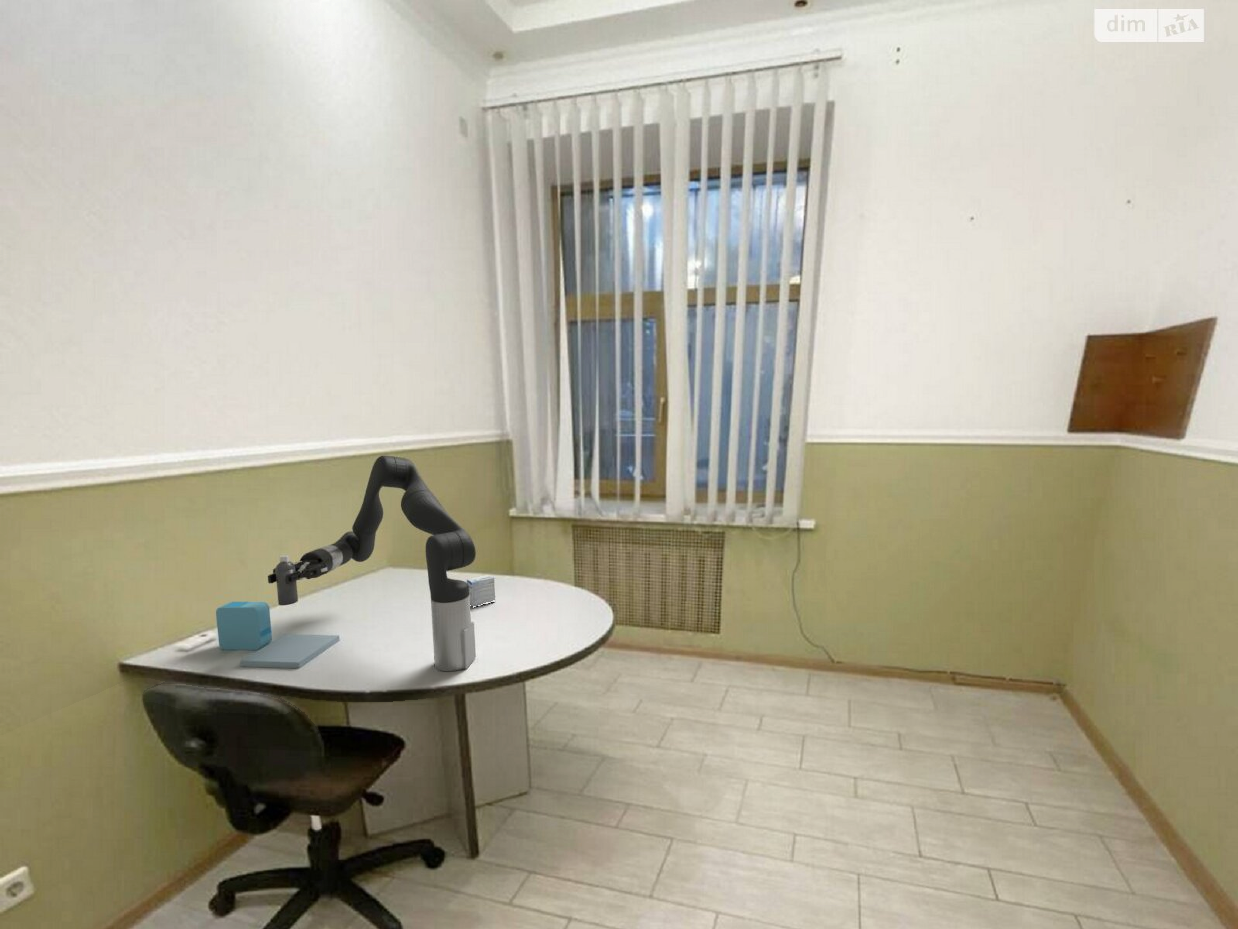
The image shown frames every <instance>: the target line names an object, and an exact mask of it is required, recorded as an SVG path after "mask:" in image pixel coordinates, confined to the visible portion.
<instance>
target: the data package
mask: <svg viewBox="0 0 1238 929" xmlns="http://www.w3.org/2000/svg"><path fill="white" fill-rule="evenodd" d="M270 610H271V609H270V606H269V604H268V603H267V602H265V601H231V602H227V603H226V604H224V605H222V606H219V607H217V608H216V611H215V616H216V619H215V620H216V626H217V636H218V645H219V647H220V648H221V649H222V650H225V651H226V650H227V651H228V650H229V651H234V650H235V651H258V650H259V649H261V648H263V647H265V646H266V645H268V644H270V643H272V640H273V634H272V624H271V622H272V621H271V612H270Z"/></svg>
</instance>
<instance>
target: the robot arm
mask: <svg viewBox="0 0 1238 929" xmlns="http://www.w3.org/2000/svg"><path fill="white" fill-rule="evenodd" d="M383 487H384V488H396V489H402V490H403V491H405V492H404V493H403V495H402V498H401V501H400V508H401V511H402V513H403V514H404V516H405V517H406V519H407V521H408V522H409V523H410V524H411V525H412V526H413V527H414V528H416V529H418V530H420V531H422V532H425V533H427V534H430V536H429V537H428V538H427V539H426V543H425V548H424V549H425V559H426V567H427V579H428V587H429V592H430V604H431V605H430V606H431V607H430V609H431V625H432V641H433V643H432V644H433V645H432V646H433V659H434V667H435V669H436V670H439V671H442V672H453V671H459V670H462V669H466V670H468V667H470V665H471V664H472V663H473V662H474V661H475V659H476V658H475V657H477V656H476V655H477V654H476V634H475V623H474V621H472V618H471V617H472V615H471V606H470V595H469V594H470V593H469V585H468V583H467V581H465V580H461V579H455V578H449V577H448V574H447V572H449V571H455V570H458V569H462V568H467V566H470V565H472V563H474V561H475V559H476V554H477V551H476V547H475V544H474V541H473V539H472V537H471V536H470V534H469V533H468V532H467V531H466V530H465V528H463V526H461V525H460V524H459V523H458V522H457V521H456V520H455V519H454V518H453V517H452V516H451V515H450V514H449V513H448V512H447V510H446V509H445V508H444V506H443V504H441V502H440V501H439V500H438V498H437V497H436V495H435V494H434V493H433V492H432V491H431V490H430V488H429V487H428V485H427V484H426V483H425V481H424V479H423V478H422V476H421V475H420V472H419V470H418V469H417V466H415V464H414V462H413V461H412V460H410V459H409V458H406V457H400V456H394V455H393V456H391V455H380V456H378V457H377V458H376V460H375V462H374V463H373V465H372V468H371V472H370V475H369V478H368V482H367V486H366V489H365V492H364V497H363V501H362V505H361V507H360V510H359V512H358V514H357V515H356V518H355V520H354V522H353V524H352V528H351V529H352V530H351V531H347V532H345V533H344V534H343V535H342V536H341V537H340V538H339V539H338V540H337V541H335V542H334V543H331V544H328V545H326V546H325V545H324V546H322V547H319V548H316V549H313V550H311V551H308V552H306V553H304V554H303V555H302V556H301V557H300V559H299V561H295V562H293V564H294V565H295V572H293V573H291V574H288V575H286V583H287V584H290V583H292V582H294V581H296V582H297V581H302V580H304V579H306V580H310V579H316V578H319V577H322V576H324V575H326V574H328V573H330V572H332V571H334V570H336V569H337V568H339V567H340V566H343V565H346V564H347V563H349V562H350V561H351V559H352V560H354V561H355V562H357V563H362V562H365V561H367V560H369V559H370V557H371V556H372V554H373V552H374V549H375V544H376V542H375V541H376V536H377V535H376V534H377V530H378V529H379V527H380V525H381V523H382V522H383V518H384V508H383V504H382V502H381V498H380V492H381V488H383ZM275 569H276V567H275V568H273V569H272V573H271V574H268V575H267V583H268V584H274V583H276V572H275ZM472 661H473V662H472Z"/></svg>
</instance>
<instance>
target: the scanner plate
mask: <svg viewBox="0 0 1238 929" xmlns="http://www.w3.org/2000/svg"><path fill="white" fill-rule="evenodd" d="M338 642H340V635H339V634H337V635H336V634H335V635H334V634H333V635H332V634H296V633H295V634H294V633H293V634H292V633H286V634H283V635H282V636H280V637H278V638H277V639H275V640H273V641H271V642H270V643H268V644H267V645H265V646H263V647H262V648H260V649H258V650H255V651H254V652H253V653H251V654H249V655H247V656H246V657H243V658H242V659H241V660H240V661H239V663H240V667H252V668H253V667H254V668H257V667H258V668H280V669H281V668H282V669H284V668H285V669H301V668H302V667H303V666H305V665H307V664H308V663H309V662H311V661H312V660H314V659H315V658H317V657H318V656H320V655H321V654H322V653H323V652H325V651H326V650H328V649H329V648H331V647H333V646H334V645H335V644H337V643H338Z"/></svg>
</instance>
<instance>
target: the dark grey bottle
mask: <svg viewBox="0 0 1238 929" xmlns="http://www.w3.org/2000/svg"><path fill="white" fill-rule="evenodd" d="M275 568H276V569H275V572H276V582H275V583H276V592H277V602H278V605H279V606H291V605H294V604H296V603H298V601H299V598H298V597H299V596H298V595H299V594H298V584H297V583H298V582H297V581H294V582H292V583H290V584H287V583H286V575H288V574H291V573H293V572H295V565H294V562H292V561H291V560H290V555H280V556H279V562H278V564H277V565H276V567H275Z"/></svg>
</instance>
